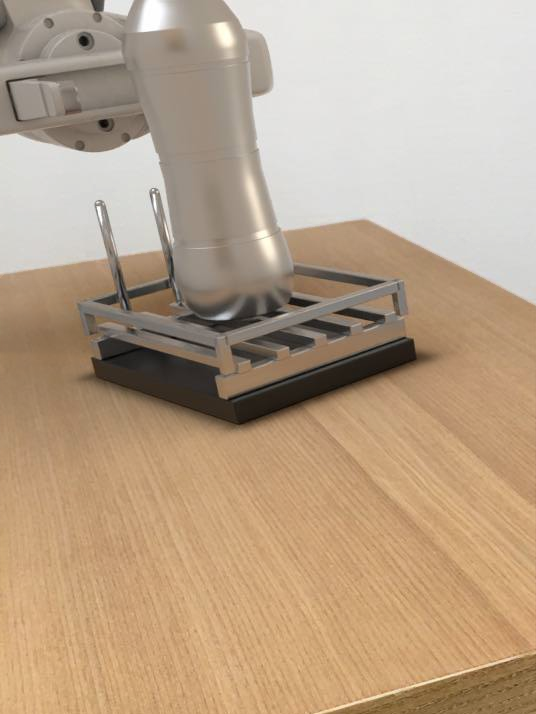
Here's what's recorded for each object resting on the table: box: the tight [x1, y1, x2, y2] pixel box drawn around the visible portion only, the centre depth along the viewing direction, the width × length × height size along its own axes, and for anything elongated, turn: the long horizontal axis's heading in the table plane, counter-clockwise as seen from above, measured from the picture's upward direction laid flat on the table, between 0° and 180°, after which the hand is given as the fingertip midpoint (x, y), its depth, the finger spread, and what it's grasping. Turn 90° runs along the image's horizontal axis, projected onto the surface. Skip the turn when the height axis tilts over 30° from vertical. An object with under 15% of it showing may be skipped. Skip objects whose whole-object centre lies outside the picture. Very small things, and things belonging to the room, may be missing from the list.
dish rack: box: [76, 187, 417, 425], centre depth 70 cm, size 16×12×10 cm
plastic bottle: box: [121, 0, 295, 320], centre depth 66 cm, size 6×7×20 cm
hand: (148, 86), depth 71 cm, fingers open, 8 cm apart
